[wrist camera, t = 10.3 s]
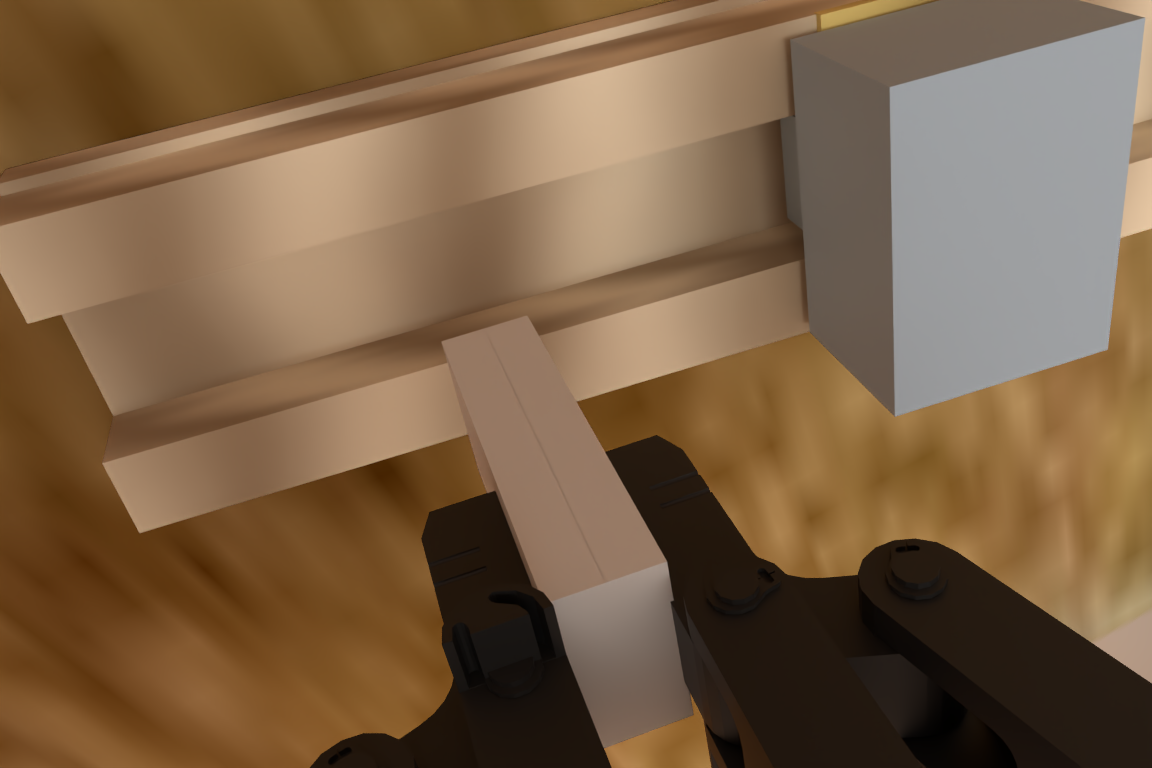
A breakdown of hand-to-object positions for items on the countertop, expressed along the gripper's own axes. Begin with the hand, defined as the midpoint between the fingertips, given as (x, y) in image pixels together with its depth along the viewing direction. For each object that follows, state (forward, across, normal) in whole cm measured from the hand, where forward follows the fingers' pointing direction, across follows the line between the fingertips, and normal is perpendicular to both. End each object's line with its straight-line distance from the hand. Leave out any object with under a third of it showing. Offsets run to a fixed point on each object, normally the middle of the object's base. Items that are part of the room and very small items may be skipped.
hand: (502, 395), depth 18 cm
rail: (+8, +7, 0) cm, 11 cm away
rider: (+7, +11, 0) cm, 12 cm away
